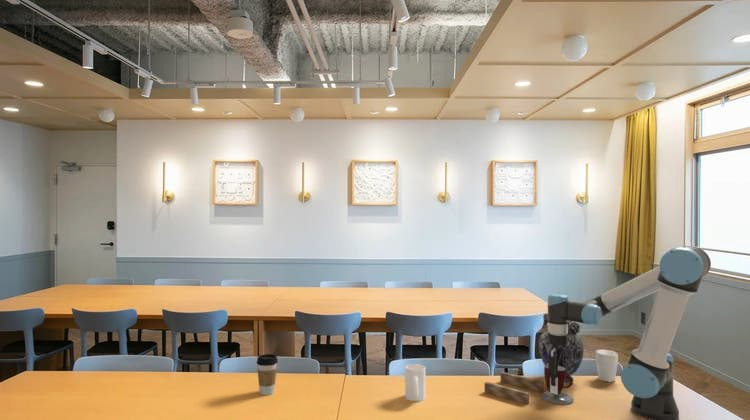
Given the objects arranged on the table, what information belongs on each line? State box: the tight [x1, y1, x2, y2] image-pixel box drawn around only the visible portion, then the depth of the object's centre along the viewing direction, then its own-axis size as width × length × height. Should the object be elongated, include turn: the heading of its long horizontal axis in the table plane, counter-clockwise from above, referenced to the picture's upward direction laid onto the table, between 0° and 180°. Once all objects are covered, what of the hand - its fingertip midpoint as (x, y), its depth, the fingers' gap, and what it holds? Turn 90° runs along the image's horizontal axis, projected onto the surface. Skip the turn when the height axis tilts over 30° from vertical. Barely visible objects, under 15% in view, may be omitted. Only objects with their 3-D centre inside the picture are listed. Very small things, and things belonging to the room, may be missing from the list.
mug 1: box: [404, 363, 426, 402], centre depth 179 cm, size 8×12×12 cm
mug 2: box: [543, 365, 573, 395], centre depth 181 cm, size 10×8×10 cm
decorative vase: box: [538, 312, 584, 384], centre depth 202 cm, size 21×19×28 cm
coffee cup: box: [256, 353, 278, 396], centre depth 185 cm, size 8×8×15 cm
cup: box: [594, 349, 619, 383], centre depth 202 cm, size 9×9×12 cm
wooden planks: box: [484, 371, 544, 405], centre depth 187 cm, size 18×17×4 cm
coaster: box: [541, 390, 575, 406], centre depth 180 cm, size 12×12×1 cm
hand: (557, 390), depth 180 cm, fingers closed on mug 2, 8 cm apart
